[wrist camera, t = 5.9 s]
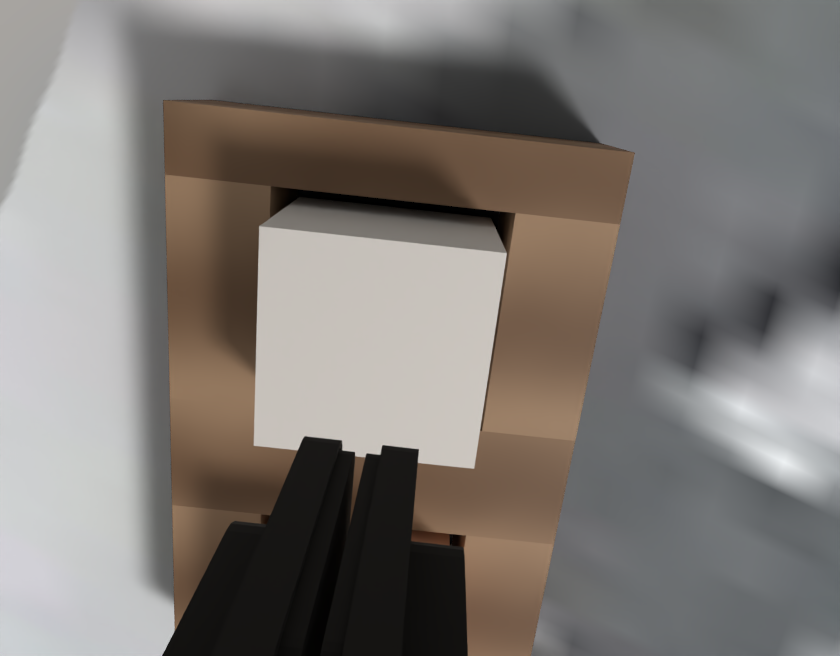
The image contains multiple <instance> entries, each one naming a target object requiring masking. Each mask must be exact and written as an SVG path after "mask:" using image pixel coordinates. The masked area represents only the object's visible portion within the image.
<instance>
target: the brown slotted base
mask: <svg viewBox="0 0 840 656" xmlns="http://www.w3.org/2000/svg"><path fill="white" fill-rule="evenodd" d="M163 111H164V157H165V203H166V248H167V294H168V340H169V385H170V431H171V477H172V523H173V568H174V614H175V630H176V628H177V626H178V624H179V622H180V620H181V618H182V616H183V614H184V612H185V610H186V608H187V606H188V604H189V602H190V600H191V598H192V596H193V595H194V593H195V591H196V589H197V587H198V585H199V583H200V581H201V579H202V577H203V575H204V573H205V571H206V569H207V567H208V565H209V563H210V561H211V559H212V557H213V555H214V553H215V551H216V549H217V547H218V545H219V543H220V541H221V540H222V538H223V536H224V534H225V532H226V530H227V528H228V527H229V525H230V524H231V523H232V522H234V521H241V522H250V523H259V524H267V522H268V520H269V517H270V515H271V513H272V510H273V508H274V506H275V503H276V501H277V498H278V496H279V494H280V491H281V489H282V487H283V484H284V482H285V479H286V477H287V475H288V472H289V470H290V468H291V465H292V463H293V461H294V458H295V456H296V453H297V451H298V450H290V449H280V448H271V447H261V446H254V414H255V375H256V335H257V295H258V255H259V226H260V225H262V224H263V223H264V222H266V221H267V220H268V219H270V218H271V217H273V216H274V215H275V214H277V213H278V212H280V211H281V210H282V209H284V208H285V207H286V206H288V205H289V204H291V203H292V202H293V201H295V200H296V199H297V193H298V189H301V190H310V191H319V192H328V193H337V194H346V195H355V196H364V197H373V198H382V199H392V200H401V201H410V202H419V203H428V204H437V205H446V206H455V207H464V208H473V209H483V210H492V211H500V213H499V220H498V227H497V233H498V235H499V237H500V239H501V241H502V243H503V246H504V248H505V250H506V252H507V256H506V263H505V269H504V276H503V282H502V289H501V296H500V302H499V309H498V315H497V322H496V328H495V335H494V342H493V348H492V355H491V361H490V368H489V374H488V381H487V388H486V394H485V401H484V407H483V414H482V420H481V427H480V434H479V440H478V447H477V453H476V460H475V466H474V469H471V468H461V467H452V466H442V465H433V464H423V463H418V467H417V478H416V490H415V502H414V513H413V525H412V530H418V531H427V532H437V533H447V534H453V537H452V544H451V546H458V547H463V548H464V555H465V581H466V613H467V644H468V656H531V652H532V647H533V642H534V638H535V633H536V628H537V623H538V618H539V613H540V609H541V604H542V599H543V594H544V589H545V584H546V580H547V575H548V570H549V565H550V560H551V555H552V551H553V546H554V541H555V536H556V531H557V526H558V522H559V517H560V512H561V507H562V502H563V497H564V492H565V488H566V483H567V478H568V473H569V468H570V463H571V459H572V454H573V449H574V444H575V439H576V434H577V430H578V425H579V420H580V415H581V410H582V405H583V401H584V396H585V391H586V386H587V381H588V376H589V372H590V367H591V362H592V357H593V352H594V347H595V343H596V338H597V333H598V328H599V323H600V318H601V314H602V309H603V304H604V299H605V294H606V289H607V285H608V280H609V275H610V270H611V265H612V260H613V256H614V251H615V246H616V241H617V236H618V231H619V227H620V222H621V217H622V212H623V207H624V202H625V198H626V193H627V188H628V183H629V178H630V173H631V169H632V164H633V159H634V154H635V153H634V152H630V151H627V150H623V149H619V148H616V147H612V146H608V145H605V144H601V143H593V142H584V141H575V140H566V139H557V138H548V137H539V136H530V135H521V134H512V133H503V132H494V131H485V130H476V129H467V128H458V127H449V126H440V125H431V124H422V123H413V122H404V121H395V120H386V119H377V118H368V117H359V116H350V115H342V114H333V113H324V112H315V111H306V110H297V109H288V108H279V107H270V106H261V105H252V104H243V103H234V102H225V101H216V100H163ZM364 461H365V457H357V456H355V467H354V479H353V491H352V504H351V516H350V522H351V518H352V513H353V509H354V504H355V500H356V496H357V491H358V487H359V483H360V478H361V474H362V470H363V465H364Z"/></svg>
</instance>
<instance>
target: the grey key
mask: <svg viewBox="0 0 840 656" xmlns="http://www.w3.org/2000/svg"><path fill="white" fill-rule="evenodd" d="M506 256H507V252H506V250H505V248H504V246H503V243H502V241H501V239H500V237H499V235H498V233H497V230H496V228H495V226H494V224H493V222H492V219H491V218H488V217H479V216H470V215H461V214H451V213H442V212H433V211H424V210H415V209H406V208H397V207H388V206H379V205H369V204H360V203H351V202H342V201H333V200H324V199H315V198H306V197H299V198H298V199H296V200H295V201H293V202H292V203H291V204H289V205H288V206H286V207H285V208H284V209H282V210H281V211H280V212H278V213H277V214H275V215H274V216H273V217H271V218H270V219H268V220H267V221H266V222H264V223H263V224H262V225H260V226H259V255H258V295H257V335H256V375H255V414H254V446H261V447H271V448H280V449H290V450H298V449H299V446H300V444H301V442H302V439H303V438H304V436H308V437H317V438H326V439H334V440H342V450H343V451H352V452H355V456H357V457H366V454H367V453H369V454H378V455H380V454H381V449H382V445H387V446H396V447H404V448H413V449H419V455H418V463H423V464H433V465H442V466H452V467H461V468H471V469H474V466H475V460H476V453H477V447H478V440H479V434H480V427H481V420H482V414H483V407H484V401H485V394H486V388H487V381H488V374H489V368H490V361H491V355H492V348H493V342H494V335H495V328H496V322H497V315H498V309H499V302H500V296H501V289H502V282H503V276H504V269H505V263H506Z"/></svg>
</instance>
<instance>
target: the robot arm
mask: <svg viewBox="0 0 840 656" xmlns="http://www.w3.org/2000/svg"><path fill="white" fill-rule="evenodd" d="M418 455H419V449H413V448H404V447H396V446H387V445H382V449H381V454H380V455H378V454H369V453H367V454H366V457H365V461H364V465H363V470H362V474H361V478H360V483H359V487H358V491H357V496H356V500H355V504H354V509H353V513H352V518H351V522H350V516H351V504H352V491H353V479H354V467H355V452H352V451H343V450H342V440H334V439H326V438H317V437H308V436H304V438H303V439H302V442H301V444H300V446H299V449H298V451H297V453H296V456H295V458H294V461H293V463H292V465H291V468H290V470H289V472H288V475H287V477H286V479H285V482H284V484H283V487H282V489H281V491H280V494H279V496H278V498H277V501H276V503H275V506H274V508H273V510H272V513H271V515H270V517H269V520H268V522H267V524H259V523H250V522H241V521H234V522H232V523H231V524H230V525H229V527H228V528H227V530H226V532H225V534H224V536H223V538H222V540H221V541H220V543H219V545H218V547H217V549H216V551H215V553H214V555H213V557H212V559H211V561H210V563H209V565H208V567H207V569H206V571H205V573H204V575H203V577H202V579H201V581H200V583H199V585H198V587H197V589H196V591H195V593H194V595H193V596H192V598H191V600H190V602H189V604H188V606H187V608H186V610H185V612H184V614H183V616H182V618H181V620H180V622H179V624H178V626H177V628H176V630H175V632H174V634H173V636H172V638H171V640H170V642H169V644H168V646H167V648H166V650H165V651H164V653H163V655H162V656H468V644H467V613H466V581H465V555H464V548H463V547H458V546H450V545H441V544H432V543H424V542H415V541H411V536H412V525H413V513H414V502H415V490H416V478H417V467H418Z"/></svg>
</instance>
